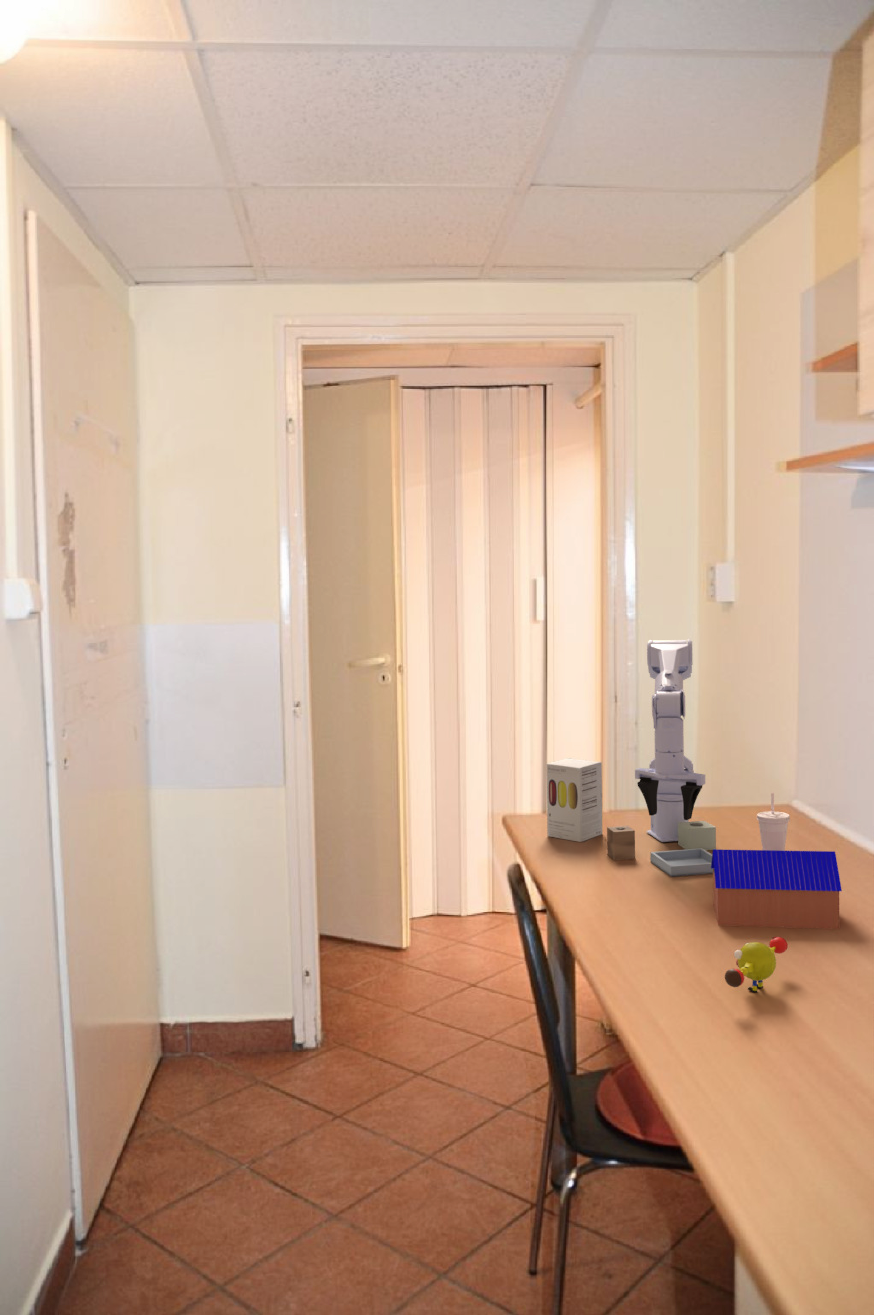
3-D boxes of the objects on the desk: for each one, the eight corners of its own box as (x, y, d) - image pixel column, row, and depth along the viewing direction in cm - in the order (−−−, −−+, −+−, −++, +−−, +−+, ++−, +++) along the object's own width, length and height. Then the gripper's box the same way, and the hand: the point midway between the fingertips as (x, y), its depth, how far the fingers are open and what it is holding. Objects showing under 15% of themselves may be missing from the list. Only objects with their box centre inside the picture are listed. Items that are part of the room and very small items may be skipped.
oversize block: (678, 845, 231) (677, 822, 231) (704, 843, 232) (704, 820, 232) (689, 852, 225) (688, 828, 225) (715, 850, 226) (715, 826, 226)
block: (607, 855, 225) (606, 826, 224) (627, 853, 225) (627, 825, 225) (614, 860, 220) (613, 831, 220) (635, 859, 221) (634, 830, 220)
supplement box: (546, 836, 241) (544, 763, 240) (568, 828, 248) (567, 757, 247) (581, 842, 235) (580, 767, 234) (604, 834, 242) (602, 761, 241)
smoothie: (786, 857, 218) (785, 790, 217) (793, 866, 212) (793, 796, 211) (754, 857, 219) (753, 790, 218) (760, 866, 212) (760, 797, 211)
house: (711, 905, 190) (710, 840, 189) (828, 908, 186) (828, 842, 185) (716, 927, 178) (715, 858, 177) (841, 931, 175) (841, 861, 174)
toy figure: (762, 966, 160) (762, 922, 159) (798, 974, 156) (798, 929, 156) (709, 1006, 146) (709, 957, 145) (748, 1015, 142) (748, 966, 142)
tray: (650, 861, 218) (650, 852, 218) (702, 857, 220) (702, 848, 220) (671, 876, 207) (671, 866, 207) (725, 872, 209) (725, 862, 209)
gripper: (627, 750, 216) (628, 816, 217) (694, 756, 207) (695, 825, 208) (643, 745, 221) (644, 809, 222) (709, 751, 212) (710, 818, 213)
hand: (670, 816), depth 216 cm, fingers open, 7 cm apart
